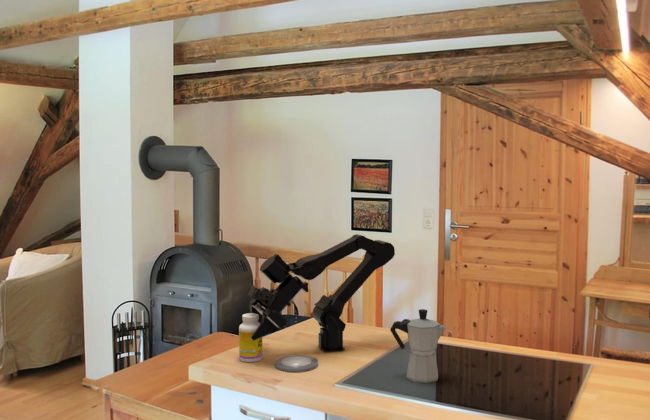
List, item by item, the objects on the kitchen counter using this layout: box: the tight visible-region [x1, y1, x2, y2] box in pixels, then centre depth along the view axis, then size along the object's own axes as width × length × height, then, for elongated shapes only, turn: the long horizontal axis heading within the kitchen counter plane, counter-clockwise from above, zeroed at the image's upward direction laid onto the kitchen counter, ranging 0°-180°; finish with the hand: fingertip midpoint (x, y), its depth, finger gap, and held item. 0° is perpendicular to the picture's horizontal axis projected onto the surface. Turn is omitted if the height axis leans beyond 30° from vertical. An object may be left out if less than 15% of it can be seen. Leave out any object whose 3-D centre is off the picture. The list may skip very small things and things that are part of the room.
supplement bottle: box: [238, 312, 264, 363], centre depth 177 cm, size 7×7×13 cm
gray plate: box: [274, 354, 319, 373], centre depth 172 cm, size 12×12×1 cm
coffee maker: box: [389, 308, 448, 384], centre depth 162 cm, size 15×9×18 cm, turn 75°
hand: (247, 334), depth 176 cm, fingers open, 9 cm apart
